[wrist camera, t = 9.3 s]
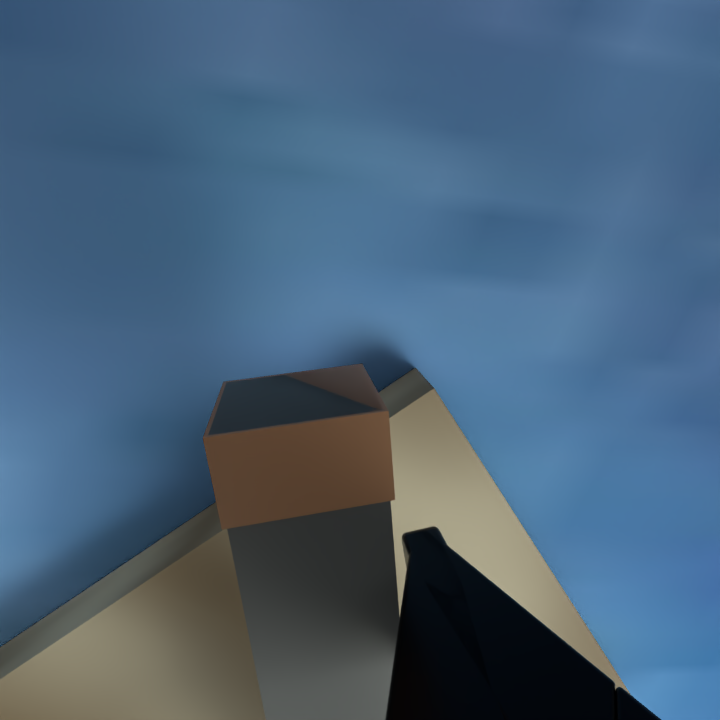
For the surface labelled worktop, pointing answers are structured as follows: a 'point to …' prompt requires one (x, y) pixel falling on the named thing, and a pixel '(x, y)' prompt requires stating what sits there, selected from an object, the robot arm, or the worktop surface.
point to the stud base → (224, 605)
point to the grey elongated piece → (311, 536)
